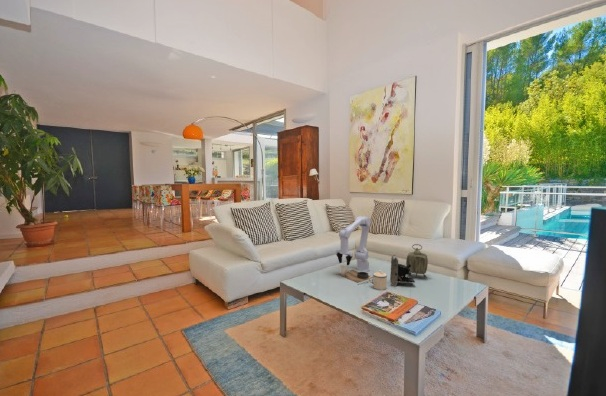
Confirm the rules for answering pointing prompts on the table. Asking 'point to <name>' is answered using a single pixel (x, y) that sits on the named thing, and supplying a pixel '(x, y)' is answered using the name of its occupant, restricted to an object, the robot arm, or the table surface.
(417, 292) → the table surface
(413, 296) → the table surface
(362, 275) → the faceted grey ring
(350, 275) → the board
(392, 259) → the vintage camera
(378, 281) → the teacup with lid
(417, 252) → the tabletop clock
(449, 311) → the table surface
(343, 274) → the cap plug
